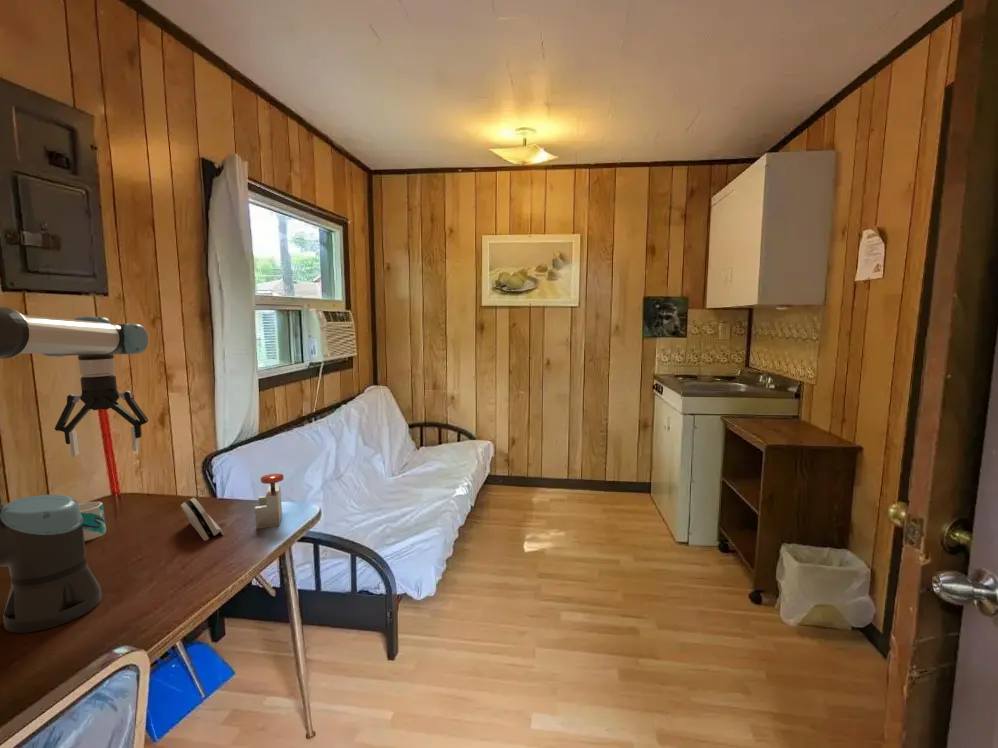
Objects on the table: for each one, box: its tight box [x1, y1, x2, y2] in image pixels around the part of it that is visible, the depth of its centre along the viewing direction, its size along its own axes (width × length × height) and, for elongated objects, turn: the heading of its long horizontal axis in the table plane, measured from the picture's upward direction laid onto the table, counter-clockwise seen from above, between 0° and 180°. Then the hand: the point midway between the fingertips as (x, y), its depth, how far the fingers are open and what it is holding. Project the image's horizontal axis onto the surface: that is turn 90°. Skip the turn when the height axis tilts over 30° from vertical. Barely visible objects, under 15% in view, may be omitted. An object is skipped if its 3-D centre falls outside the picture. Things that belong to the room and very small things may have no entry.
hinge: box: [180, 497, 226, 541], centre depth 143 cm, size 17×5×10 cm, turn 42°
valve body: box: [254, 473, 284, 530], centre depth 148 cm, size 10×8×13 cm
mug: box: [78, 501, 107, 542], centre depth 142 cm, size 8×12×8 cm
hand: (106, 452), depth 139 cm, fingers open, 13 cm apart
